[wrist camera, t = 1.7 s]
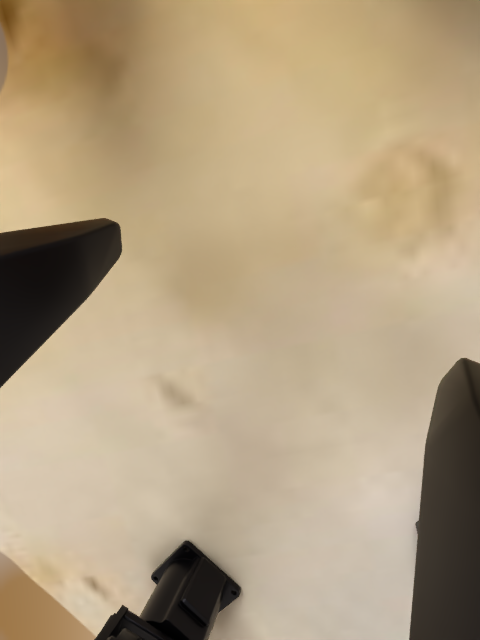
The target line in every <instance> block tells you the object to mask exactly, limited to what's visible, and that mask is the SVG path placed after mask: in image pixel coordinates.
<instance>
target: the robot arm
mask: <svg viewBox="0 0 480 640" xmlns="http://www.w3.org/2000/svg"><path fill="white" fill-rule="evenodd" d="M121 252H122V243H121V229H120V226H119V224H118V223H117V222H114V221H112V220H109V219H106V218H101V219H94V220H87V221H80V222H73V223H66V224H59V225H52V226H45V227H38V228H32V229H25V230H18V231H11V232H4V233H0V388H1V387H2V386H3V385H4V384H5V383H6V381H7V380H8V379H9V378H10V377H11V376H12V375H13V374H14V373H15V372H16V371H17V370H18V369H19V368H20V367H21V366H22V365H23V364H24V363H25V362H26V361H27V360H28V359H29V358H30V357H31V356H32V355H33V354H34V353H35V352H36V351H37V350H38V349H39V348H40V347H41V346H42V345H43V343H44V342H45V341H46V340H47V339H48V338H49V337H50V336H51V335H52V334H53V333H54V332H55V331H56V330H57V329H58V328H59V327H60V326H61V325H62V324H63V323H64V322H65V321H66V320H67V319H68V318H69V317H70V316H71V315H72V314H73V313H74V312H75V311H76V310H77V309H78V308H79V307H80V305H81V304H82V303H83V302H84V301H85V300H86V299H87V298H88V297H89V296H90V295H91V293H92V292H93V291H94V290H95V289H96V287H97V286H98V285H99V283H100V282H101V281H102V280H103V278H104V277H105V276H106V274H107V273H108V272H109V270H110V269H111V268H112V267H113V265H114V264H115V263H116V261H117V260H118V259H119V257H120V255H121ZM151 578H152V580H153V581H154V582H155V583H156V584H157V586H156V588H155V590H154V591H153V593H152V595H151V597H150V599H149V600H148V602H147V604H146V606H145V608H144V609H143V611H142V613H141V615H140V616H137V615H135V614H134V613H132V612H130V611H129V610H128V608H127V607H125V606H123V605H122V607H121V608H120V609H119V611H118V612H117V613H116V614H115V613H114V615H111V616H110V618H109V619H108V621H107V622H106V624H105V625H104V627H103V629H102V630H101V632H100V633H99V634H98V636H97V637H96V638H95V639H94V640H208V638H209V636H210V633H211V630H212V627H213V625H214V622H215V619H216V616H217V614H218V613H219V612H220V611H221V610H222V609H224V608H225V607H226V606H227V605H229V604H230V603H231V602H232V601H234V600H235V599H236V598H237V597H239V595H240V592H241V589H240V587H239V586H238V585H237V584H236V583H235V582H234V581H233V580H232V579H230V578H229V577H228V576H227V575H226V574H225V573H224V572H223V571H222V570H220V569H219V568H218V567H217V566H216V565H215V564H214V563H213V562H212V561H210V560H209V559H208V558H207V557H206V556H205V555H204V554H203V553H202V552H201V551H199V550H198V549H197V548H196V547H195V546H194V545H193V544H192V543H190V542H189V541H185V542H183V543H182V544H181V545H180V546H179V547H178V548H177V549H176V550H175V551H174V552H173V553H172V554H171V555H170V556H169V557H168V558H167V559H166V560H165V561H164V562H163V563H162V564H161V565H160V566H159V567H158V568H157V569H156V570H155V571H154V572H153V574H152V576H151ZM409 640H480V363H477V362H475V361H472V360H469V359H467V358H461V359H460V360H458V361H457V362H456V363H455V365H454V366H453V367H452V368H451V369H450V370H449V372H448V373H447V374H446V375H445V376H444V378H443V379H442V380H441V382H440V384H439V386H438V390H437V394H436V399H435V403H434V408H433V412H432V417H431V421H430V426H429V430H428V435H427V440H426V445H425V454H424V467H423V479H422V491H421V503H420V515H419V528H418V540H417V552H416V564H415V577H414V589H413V601H412V613H411V625H410V638H409Z"/></svg>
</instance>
